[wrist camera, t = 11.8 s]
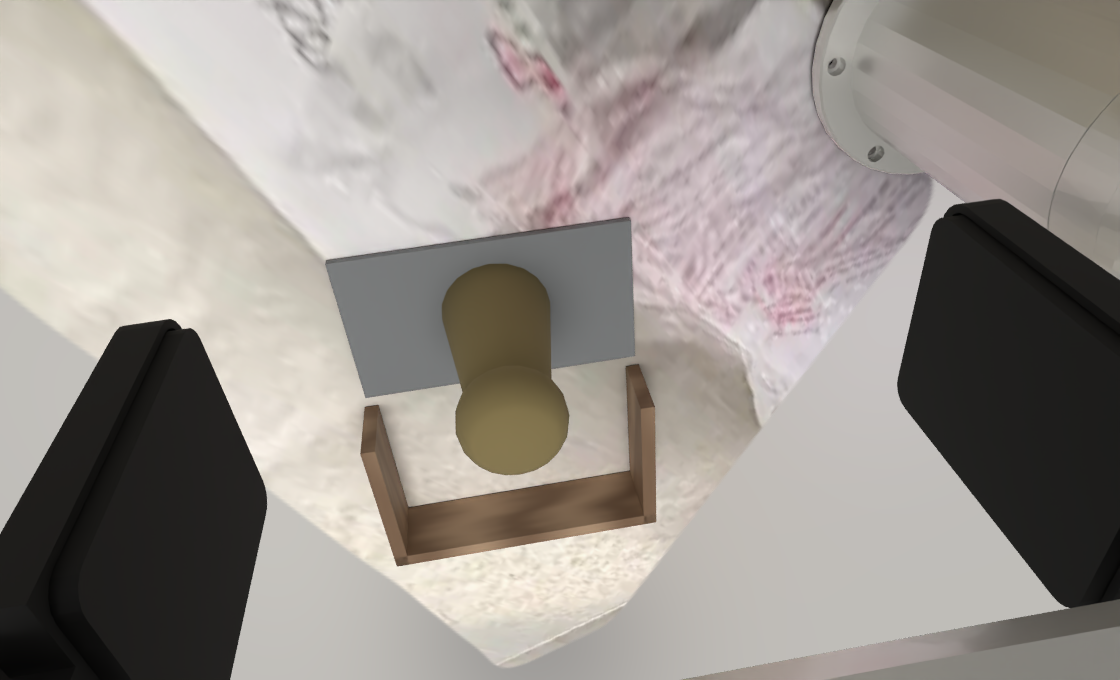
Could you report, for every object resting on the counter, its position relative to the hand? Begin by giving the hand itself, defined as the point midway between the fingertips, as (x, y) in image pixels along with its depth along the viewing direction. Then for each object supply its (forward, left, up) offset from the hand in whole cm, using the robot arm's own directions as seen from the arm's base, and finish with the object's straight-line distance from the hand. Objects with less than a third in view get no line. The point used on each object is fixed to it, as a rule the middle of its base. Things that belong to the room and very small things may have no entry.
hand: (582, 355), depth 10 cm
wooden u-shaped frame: (+2, +28, -28) cm, 39 cm away
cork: (+1, +17, -28) cm, 33 cm away
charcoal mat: (+2, +18, -28) cm, 33 cm away
